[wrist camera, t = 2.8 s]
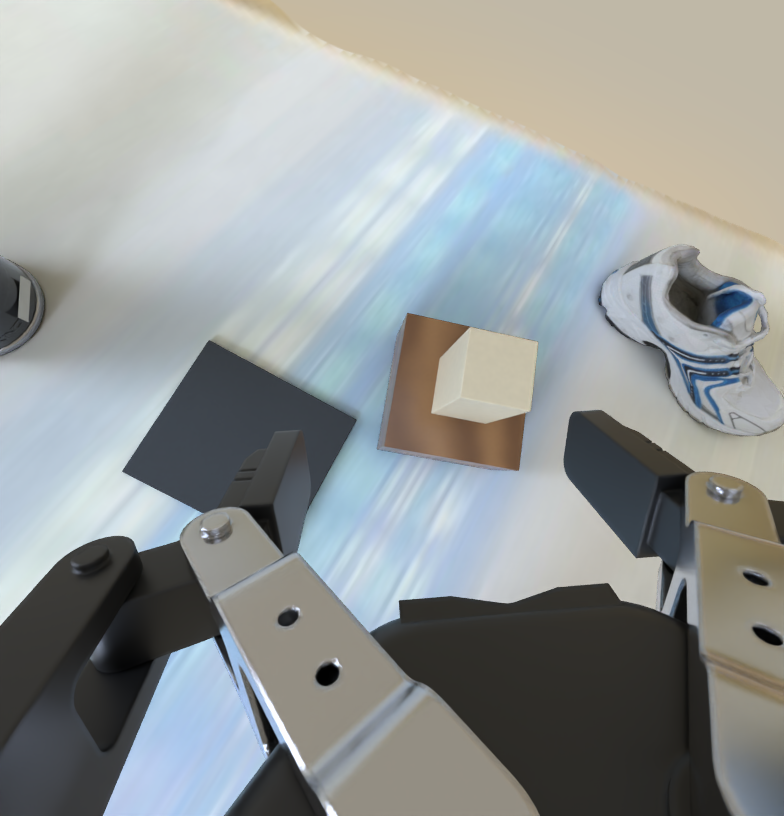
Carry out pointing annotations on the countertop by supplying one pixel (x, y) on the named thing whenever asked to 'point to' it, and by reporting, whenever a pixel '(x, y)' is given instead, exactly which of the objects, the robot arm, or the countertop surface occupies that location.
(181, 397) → the rubber mat
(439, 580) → the countertop surface
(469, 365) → the cream box
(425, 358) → the brown box
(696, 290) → the athletic shoe
